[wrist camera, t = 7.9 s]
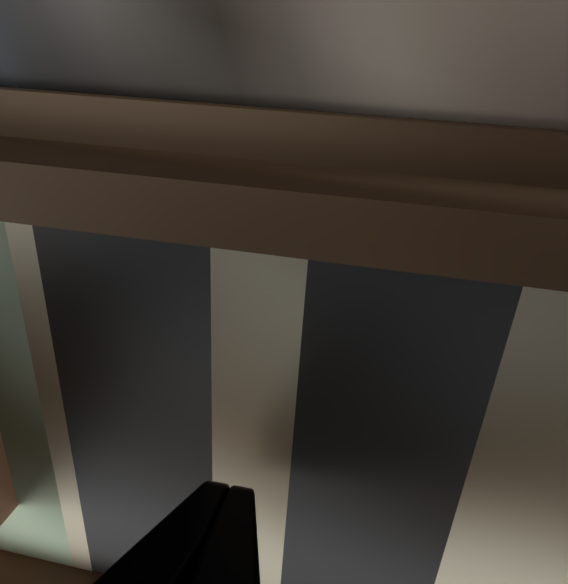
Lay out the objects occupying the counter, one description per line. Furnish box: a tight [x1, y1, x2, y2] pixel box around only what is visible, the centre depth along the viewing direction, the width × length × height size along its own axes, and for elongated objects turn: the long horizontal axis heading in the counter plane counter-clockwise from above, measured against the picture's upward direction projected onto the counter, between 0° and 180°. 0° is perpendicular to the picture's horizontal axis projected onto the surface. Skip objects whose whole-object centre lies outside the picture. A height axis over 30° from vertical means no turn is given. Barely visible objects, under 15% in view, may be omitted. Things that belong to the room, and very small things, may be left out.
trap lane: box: [0, 87, 568, 584], centre depth 9 cm, size 12×22×2 cm, turn 87°
